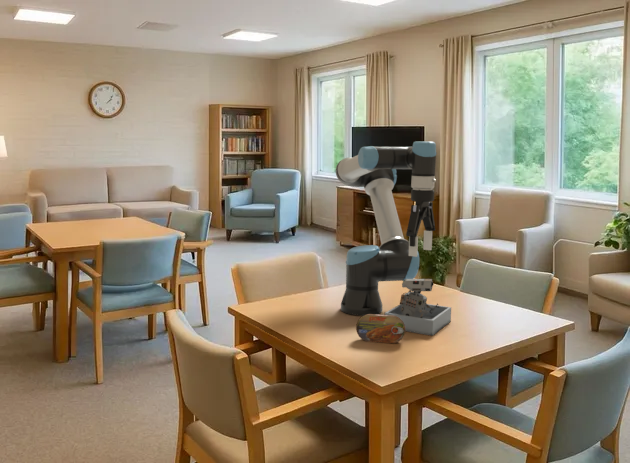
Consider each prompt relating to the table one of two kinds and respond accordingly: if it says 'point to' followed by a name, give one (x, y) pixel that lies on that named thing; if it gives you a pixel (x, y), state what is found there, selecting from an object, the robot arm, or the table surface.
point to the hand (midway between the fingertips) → (420, 253)
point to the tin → (380, 328)
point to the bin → (424, 319)
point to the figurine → (416, 297)
